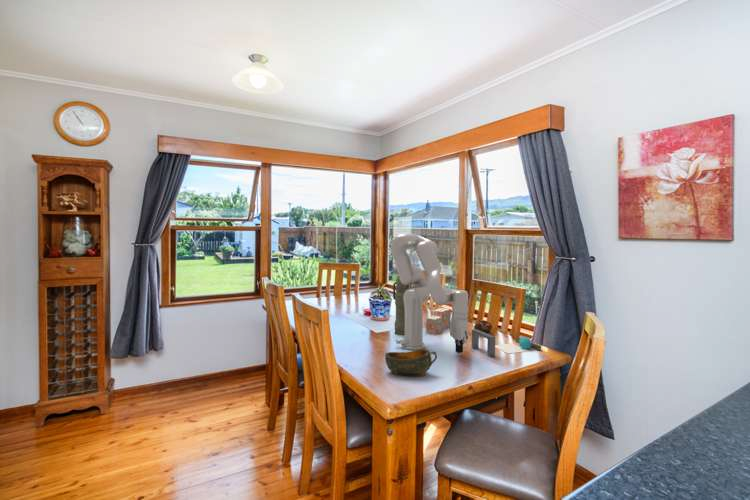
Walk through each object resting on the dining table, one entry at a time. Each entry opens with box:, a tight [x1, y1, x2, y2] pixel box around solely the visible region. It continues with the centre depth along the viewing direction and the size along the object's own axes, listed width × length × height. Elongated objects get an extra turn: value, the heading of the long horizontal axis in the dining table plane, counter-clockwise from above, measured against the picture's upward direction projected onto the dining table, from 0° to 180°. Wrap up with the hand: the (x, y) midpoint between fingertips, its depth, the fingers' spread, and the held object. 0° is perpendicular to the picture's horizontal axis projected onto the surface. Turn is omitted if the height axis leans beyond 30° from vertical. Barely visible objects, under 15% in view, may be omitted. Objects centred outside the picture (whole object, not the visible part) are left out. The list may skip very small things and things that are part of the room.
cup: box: [384, 348, 438, 378], centre depth 158 cm, size 13×20×10 cm, turn 56°
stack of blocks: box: [425, 307, 452, 336], centre depth 228 cm, size 21×6×12 cm, turn 144°
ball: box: [518, 336, 532, 350], centre depth 193 cm, size 6×6×6 cm
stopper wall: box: [515, 336, 542, 352], centre depth 197 cm, size 2×16×2 cm, turn 21°
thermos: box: [392, 274, 411, 336], centre depth 220 cm, size 9×12×35 cm
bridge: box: [471, 328, 496, 358], centre depth 187 cm, size 3×15×10 cm, turn 20°
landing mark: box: [495, 343, 529, 355], centre depth 193 cm, size 13×13×1 cm
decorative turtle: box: [473, 320, 493, 334], centre depth 220 cm, size 10×15×8 cm, turn 139°
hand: (459, 352), depth 182 cm, fingers closed
